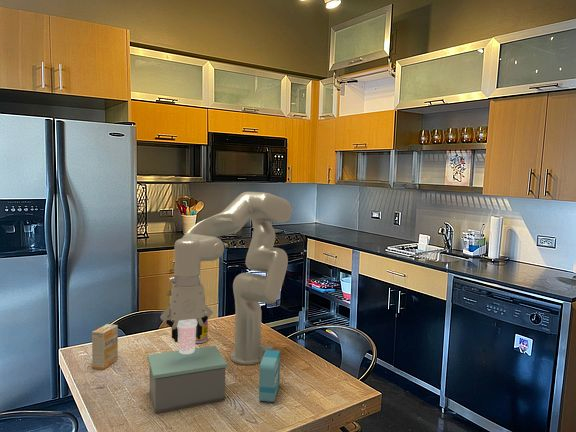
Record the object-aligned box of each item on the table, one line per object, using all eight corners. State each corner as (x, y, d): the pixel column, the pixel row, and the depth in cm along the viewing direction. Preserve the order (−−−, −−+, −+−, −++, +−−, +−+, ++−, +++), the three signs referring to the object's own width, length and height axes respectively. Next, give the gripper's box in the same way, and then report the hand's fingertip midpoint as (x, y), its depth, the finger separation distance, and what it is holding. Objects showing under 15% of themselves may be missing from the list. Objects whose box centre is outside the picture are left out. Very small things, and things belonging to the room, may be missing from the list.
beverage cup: (187, 345, 134) (188, 301, 133) (201, 350, 131) (201, 305, 129) (172, 351, 129) (172, 306, 128) (186, 357, 126) (186, 310, 124)
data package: (273, 404, 128) (274, 365, 126) (258, 402, 128) (259, 364, 127) (279, 384, 139) (280, 349, 138) (265, 383, 140) (266, 348, 139)
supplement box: (104, 370, 146) (104, 332, 145) (91, 368, 147) (91, 331, 145) (118, 360, 154) (118, 324, 153) (106, 358, 155) (106, 323, 154)
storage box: (213, 379, 142) (213, 350, 141) (224, 400, 129) (225, 368, 128) (149, 390, 133) (149, 359, 132) (155, 413, 121) (155, 379, 120)
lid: (215, 348, 141) (215, 345, 141) (227, 367, 128) (227, 363, 128) (147, 357, 132) (147, 354, 132) (153, 378, 119) (153, 375, 119)
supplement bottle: (205, 344, 170) (206, 312, 169) (188, 343, 170) (189, 312, 169) (209, 337, 177) (209, 307, 176) (192, 337, 177) (193, 306, 176)
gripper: (159, 285, 121) (158, 347, 123) (219, 281, 128) (218, 339, 130) (155, 279, 128) (155, 338, 129) (212, 275, 135) (212, 331, 136)
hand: (186, 338), depth 129 cm, fingers closed on beverage cup, 6 cm apart
